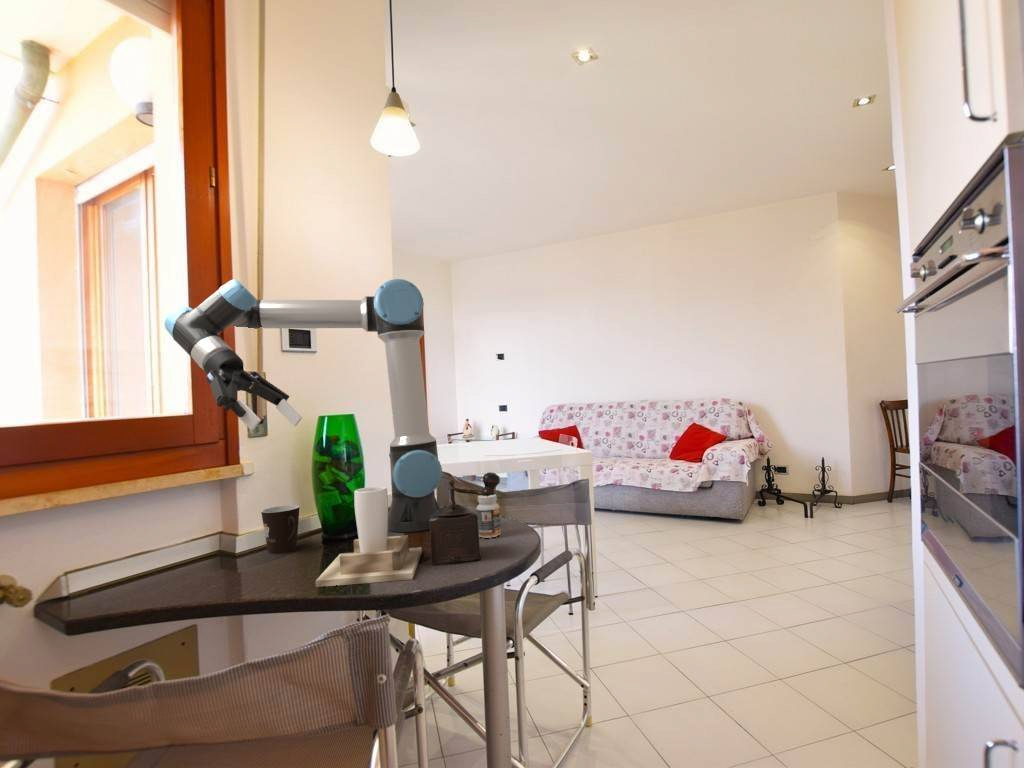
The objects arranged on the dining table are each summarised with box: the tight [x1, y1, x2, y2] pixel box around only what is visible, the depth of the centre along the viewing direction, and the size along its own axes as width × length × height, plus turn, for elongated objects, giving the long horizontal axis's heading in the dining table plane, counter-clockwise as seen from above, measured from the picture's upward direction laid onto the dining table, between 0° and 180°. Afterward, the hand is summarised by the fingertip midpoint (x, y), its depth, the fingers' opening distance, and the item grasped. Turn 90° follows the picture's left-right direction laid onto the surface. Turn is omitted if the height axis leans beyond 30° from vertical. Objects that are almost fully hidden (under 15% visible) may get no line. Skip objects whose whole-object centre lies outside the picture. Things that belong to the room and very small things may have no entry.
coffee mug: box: [260, 504, 301, 555], centre depth 127 cm, size 12×9×10 cm
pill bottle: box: [475, 494, 502, 538], centre depth 130 cm, size 6×6×10 cm
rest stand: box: [315, 534, 423, 588], centre depth 109 cm, size 18×18×5 cm
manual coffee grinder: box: [429, 471, 501, 566], centre depth 115 cm, size 16×11×18 cm
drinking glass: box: [353, 486, 389, 553], centre depth 110 cm, size 7×7×15 cm
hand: (278, 423), depth 115 cm, fingers open, 13 cm apart
